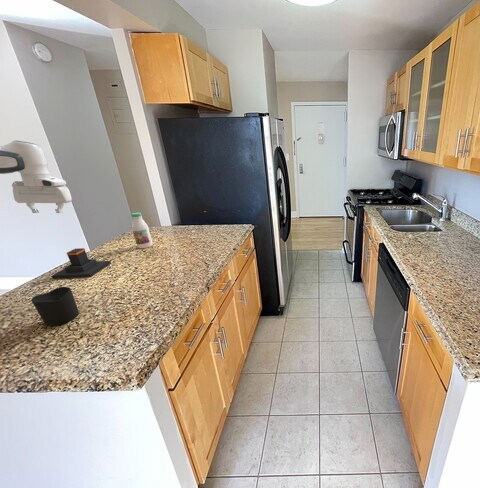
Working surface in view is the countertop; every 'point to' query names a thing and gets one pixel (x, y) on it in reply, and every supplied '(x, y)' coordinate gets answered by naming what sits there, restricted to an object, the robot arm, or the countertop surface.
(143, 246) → the milk bottle
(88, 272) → the connector base
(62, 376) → the countertop surface
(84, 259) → the black orange block
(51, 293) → the pen holder
